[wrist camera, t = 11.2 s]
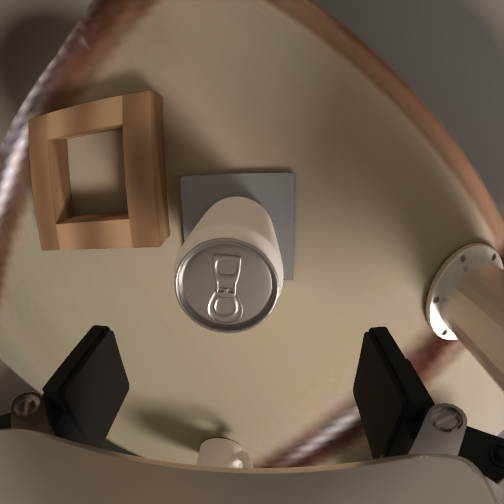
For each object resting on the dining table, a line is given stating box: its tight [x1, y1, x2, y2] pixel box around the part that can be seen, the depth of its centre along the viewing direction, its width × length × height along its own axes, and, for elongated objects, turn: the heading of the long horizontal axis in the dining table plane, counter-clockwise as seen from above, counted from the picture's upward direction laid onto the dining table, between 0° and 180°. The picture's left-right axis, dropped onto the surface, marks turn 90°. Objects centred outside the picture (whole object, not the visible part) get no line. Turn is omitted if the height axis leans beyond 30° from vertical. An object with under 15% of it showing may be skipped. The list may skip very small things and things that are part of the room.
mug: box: [197, 438, 253, 468], centre depth 33 cm, size 10×7×12 cm, turn 136°
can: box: [174, 197, 284, 333], centre depth 22 cm, size 6×6×12 cm
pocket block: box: [29, 90, 170, 251], centre depth 25 cm, size 13×13×4 cm
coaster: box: [180, 172, 295, 280], centre depth 28 cm, size 10×10×1 cm
